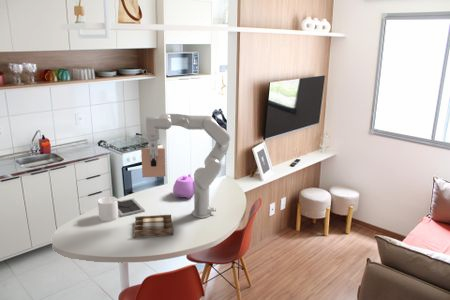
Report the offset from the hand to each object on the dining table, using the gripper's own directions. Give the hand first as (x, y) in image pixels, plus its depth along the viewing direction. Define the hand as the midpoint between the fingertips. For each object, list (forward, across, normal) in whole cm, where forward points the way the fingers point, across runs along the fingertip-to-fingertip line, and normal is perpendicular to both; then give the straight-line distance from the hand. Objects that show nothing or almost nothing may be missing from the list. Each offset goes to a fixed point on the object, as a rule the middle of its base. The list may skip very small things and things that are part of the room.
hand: (153, 165), depth 241 cm
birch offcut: (+35, -15, +1) cm, 38 cm away
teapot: (+35, +32, -24) cm, 53 cm away
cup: (+35, +3, +29) cm, 46 cm away
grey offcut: (+35, -21, +1) cm, 41 cm away
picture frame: (+36, +15, +18) cm, 43 cm away
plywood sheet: (+7, 0, 0) cm, 7 cm away
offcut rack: (+35, -16, +1) cm, 38 cm away
